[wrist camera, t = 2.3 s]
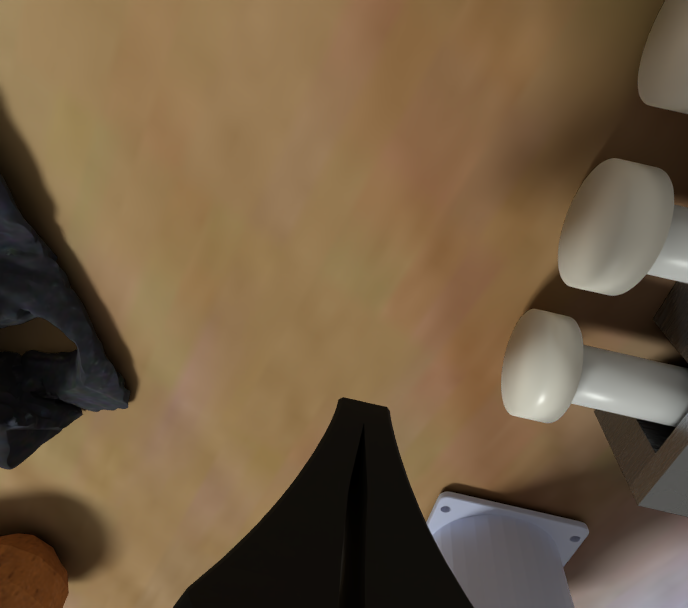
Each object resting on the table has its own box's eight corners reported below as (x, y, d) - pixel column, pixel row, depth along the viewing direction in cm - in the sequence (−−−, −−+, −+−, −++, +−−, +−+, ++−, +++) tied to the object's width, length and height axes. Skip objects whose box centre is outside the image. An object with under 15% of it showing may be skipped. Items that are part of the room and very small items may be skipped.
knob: (684, 412, 20) (739, 491, 17) (495, 369, 20) (512, 439, 17) (741, 337, 18) (818, 409, 15) (531, 289, 18) (559, 351, 15)
